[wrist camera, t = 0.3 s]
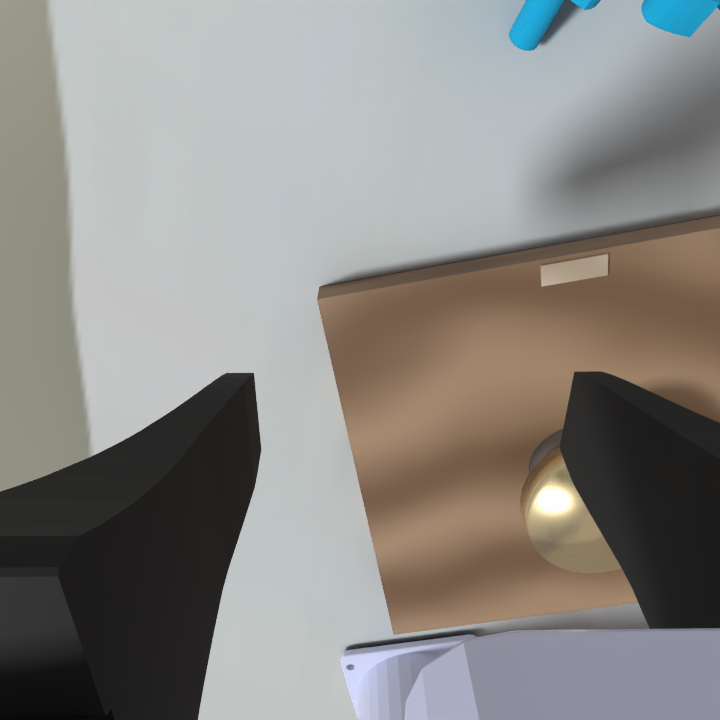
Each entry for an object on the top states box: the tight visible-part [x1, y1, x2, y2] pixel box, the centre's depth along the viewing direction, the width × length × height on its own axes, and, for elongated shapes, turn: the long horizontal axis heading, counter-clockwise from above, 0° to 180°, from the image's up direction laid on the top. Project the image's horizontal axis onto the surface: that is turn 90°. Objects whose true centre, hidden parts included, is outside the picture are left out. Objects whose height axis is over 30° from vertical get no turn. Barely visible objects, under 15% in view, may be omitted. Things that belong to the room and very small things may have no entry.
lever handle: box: [520, 447, 622, 573], centre depth 20 cm, size 11×6×2 cm, turn 100°
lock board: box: [317, 215, 720, 634], centre depth 23 cm, size 19×19×4 cm
